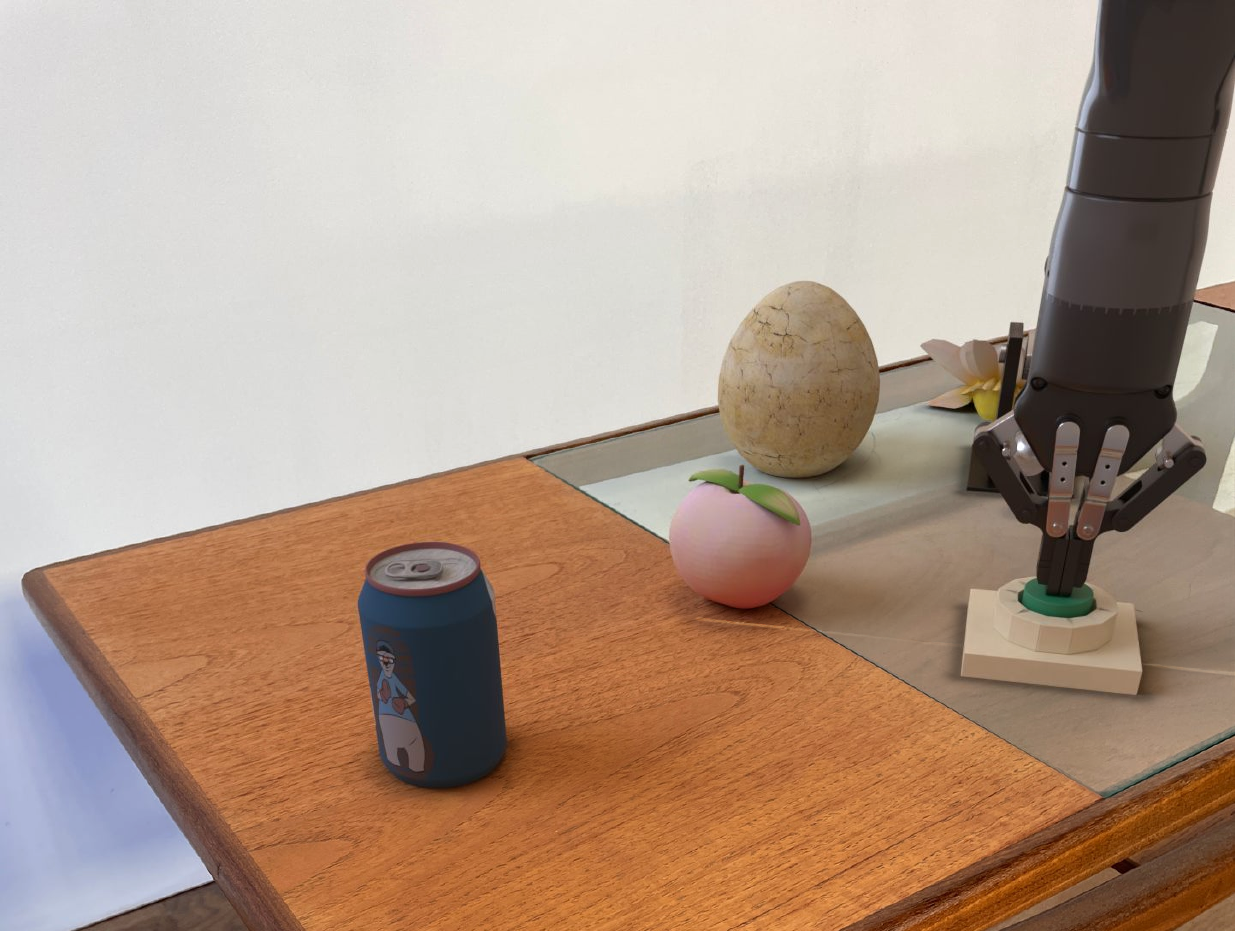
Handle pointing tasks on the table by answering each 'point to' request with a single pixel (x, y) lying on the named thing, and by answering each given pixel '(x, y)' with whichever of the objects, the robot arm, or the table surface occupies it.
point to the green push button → (1057, 601)
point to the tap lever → (1024, 451)
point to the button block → (1051, 642)
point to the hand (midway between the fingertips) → (1058, 590)
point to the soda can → (433, 664)
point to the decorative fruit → (739, 539)
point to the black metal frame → (1010, 358)
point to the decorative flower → (972, 374)
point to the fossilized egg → (799, 382)
